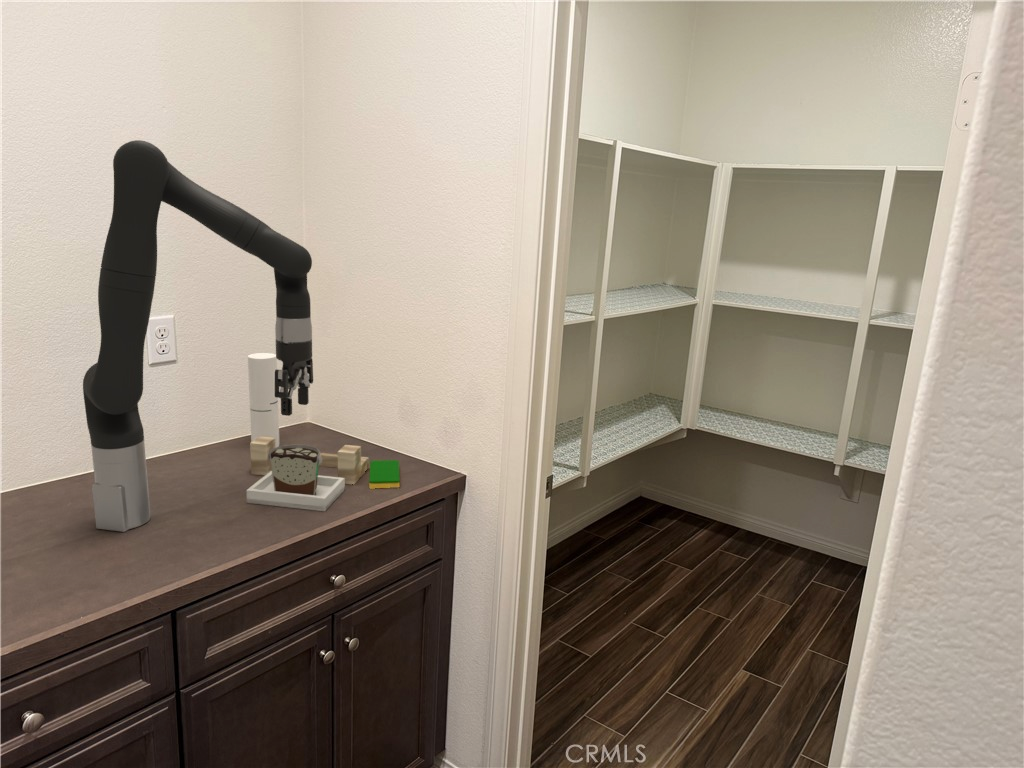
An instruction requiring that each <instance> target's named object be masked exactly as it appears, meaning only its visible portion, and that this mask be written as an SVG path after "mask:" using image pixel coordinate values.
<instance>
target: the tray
mask: <svg viewBox="0 0 1024 768" xmlns="http://www.w3.org/2000/svg"><path fill="white" fill-rule="evenodd" d="M345 490H346V484H345V478H340V477H338V476H330V475H319V474H318V478H317V489H316V495H305V494H296V493H287V492H277V491H275V490H274V483H273V476H272V471H270V472H269V473H268V474H267V475H263V476H262V477H261V478H260V479H259V480H257V481H256V482H255V483H254V484H252V485H251V486H250V487H249V488H248V489H246V503H247V504H255V505H263V506H264V505H265V506H271V507H272V506H273V507H274V506H275V507H282V508H290V509H291V508H292V509H300V510H311V511H318V512H319V511H320V512H321V511H322V512H326V511H327V510H328V509H329V508H330V506H331V505H332V504H334V502H335V501H336V500H337V499H338V498H339V497H340V496H341V495H342V494H343V492H344V491H345Z"/></svg>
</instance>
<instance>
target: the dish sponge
mask: <svg viewBox="0 0 1024 768" xmlns="http://www.w3.org/2000/svg"><path fill="white" fill-rule="evenodd" d="M369 462H370V463H369V464H370V465H369V480H368V481H369V482H368V486H369V487H368V488H370V490H376V489H375V488H390V487H400V486H401V485H400V482H401V480H400V461H399V460H398V459H394V460H391V459H387V460H385V459H384V460H379V459H378V460H369Z"/></svg>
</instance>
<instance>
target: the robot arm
mask: <svg viewBox="0 0 1024 768" xmlns="http://www.w3.org/2000/svg"><path fill="white" fill-rule="evenodd" d="M112 167H113V203H112V206H113V207H112V214H111V220H110V224H109V228H108V231H107V235H106V237H105V238H106V240H105V243H104V247H103V253H102V257H101V259H102V260H101V264H100V270H99V278H98V287H97V289H98V290H97V297H98V298H97V300H98V301H97V302H98V303H97V304H98V315H99V316H98V317H99V326H100V347H99V353H98V357H97V361H96V363H94V364H93V365H91V366H90V367H89V368H88V369H87V370H86V372H85V374H84V376H83V379H82V393H83V400H84V401H83V402H84V407H85V409H84V410H85V415H86V416H85V417H86V424H87V429H88V433H89V438H90V444H91V445H90V446H91V456H92V466H93V467H92V468H93V475H94V476H93V477H94V483H93V484H91V488H92V489H91V490H92V498H93V507H94V517H95V518H94V519H95V526H96V527H95V528H96V529H98V530H107V531H113V532H121V533H122V532H123V533H125V532H127V531H129V530H130V529H135V528H138V527H140V526H141V527H142V525H145V524H146V523H147V522H149V521H150V520H151V505H150V504H151V503H150V494H149V493H150V492H149V482H148V472H147V460H146V459H147V458H146V446H145V445H146V444H145V435H144V426H143V423H142V420H141V417H140V412H139V411H140V410H139V405H138V404H139V402H140V401H141V398H142V396H143V393H144V352H145V341H146V336H147V331H148V326H149V322H150V316H151V312H152V311H151V309H152V305H153V299H154V293H155V287H156V286H155V285H156V278H157V265H158V236H157V233H158V232H157V231H158V219H159V213H160V209H161V204H162V203H165V204H167V205H169V206H171V207H173V208H174V209H176V210H178V211H180V212H182V213H184V214H186V215H187V216H189V217H190V218H192V219H194V220H195V221H196V222H198V223H200V224H201V225H203V226H204V227H205V228H207V229H209V230H210V231H212V232H213V233H214V234H216V235H217V236H219V237H220V238H221V239H224V240H226V241H227V242H229V243H231V244H232V245H234V246H235V247H236V248H239V249H240V250H242V251H244V252H246V253H248V254H249V255H252V256H255V257H256V258H257V259H259V260H261V261H262V262H264V263H266V265H268V266H270V267H271V268H273V271H274V272H273V273H274V281H275V291H276V295H275V297H276V298H275V313H276V314H275V315H276V316H275V317H276V318H275V319H276V320H275V327H274V330H275V331H274V332H275V334H274V335H275V355H276V358H277V360H278V361H280V362H282V367H281V369H278V368H277V369H276V370H275V397H277V398H278V399H280V413H281V415H282V416H291V415H293V398H292V397H293V394H294V393H293V392H294V391H295V390H296V389H297V403H298V405H302V406H307V405H308V404H309V403H310V399H309V398H310V397H309V394H310V393H309V389H310V388H311V384H313V383H314V368H313V367H314V363H313V361H314V360H313V325H312V319H311V297H310V295H311V294H310V292H309V290H308V274H309V273H310V271H311V269H312V267H313V260H312V255H311V254H310V252H309V250H308V249H306V248H305V246H303V245H301V244H299V243H297V242H295V241H294V240H292V239H290V238H288V237H286V236H285V235H283V234H281V233H280V232H278V231H276V230H274V229H273V228H272V227H270V226H269V225H268V224H266V223H265V222H264V221H262V220H260V219H259V218H257V217H256V216H255V215H253V214H252V213H249V212H248V211H246V210H244V209H243V208H241V207H239V206H238V205H236V204H234V203H233V202H231V201H229V200H227V199H225V198H223V197H222V196H221V197H220V196H219V195H218V194H215V193H213V192H212V191H210V190H208V189H206V188H204V187H203V186H201V185H199V184H198V183H196V182H195V181H193V180H191V179H190V178H188V177H187V176H186V174H183V173H182V172H181V171H179V170H178V169H177V168H176V167H175V166H174V165H172V164H171V163H170V162H169V160H168V158H167V157H166V155H165V154H164V152H163V151H162V150H161V149H160V148H159V147H158V146H156V145H154V144H153V143H151V142H148V141H145V140H141V139H140V140H131V141H128V142H126V143H124V144H122V145H121V146H119V148H118V149H117V150H116V152H115V153H114V156H113V159H112Z"/></svg>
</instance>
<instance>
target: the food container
mask: <svg viewBox="0 0 1024 768" xmlns="http://www.w3.org/2000/svg"><path fill="white" fill-rule="evenodd" d="M320 453H321V451H320V450H319V449H318V448H317V447H315V446H312V445H308V444H295V443H294V444H287V445H286V444H285V445H279V446H278V447H276V448H273V449H271V450H270V451H269V453H268V458H267V459H269V458H270V462H271V469H272V476H273V483H274V490H275V491H277V492H287V493H296V494H305V495H316V489H317V478H318V475H319V467H320V466H319V464H321V462H322V457H321V454H320Z"/></svg>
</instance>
